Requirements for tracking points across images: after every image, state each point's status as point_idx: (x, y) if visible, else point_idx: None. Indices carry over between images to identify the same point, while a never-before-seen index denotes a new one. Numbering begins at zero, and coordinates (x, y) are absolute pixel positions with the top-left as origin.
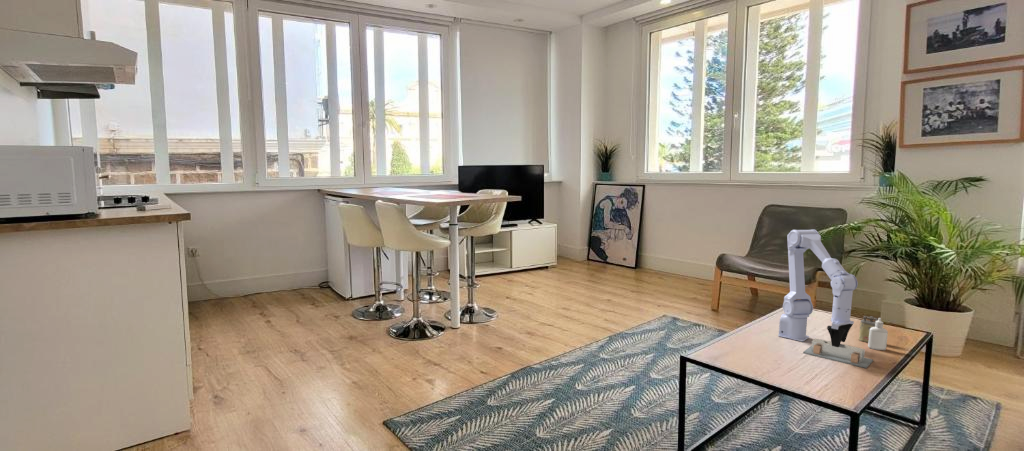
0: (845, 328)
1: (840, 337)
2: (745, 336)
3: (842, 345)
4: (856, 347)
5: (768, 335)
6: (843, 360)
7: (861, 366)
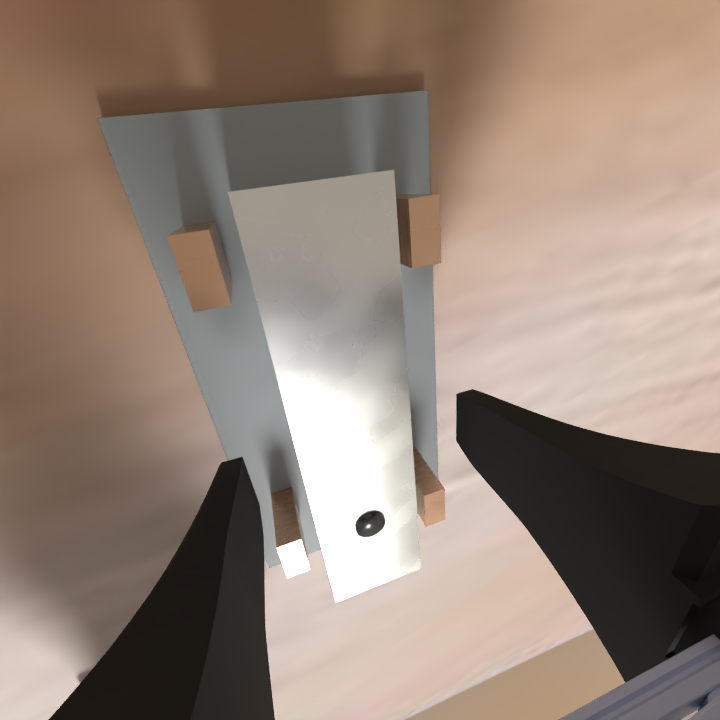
0: (236, 664)
1: (606, 439)
2: (405, 694)
3: (335, 416)
4: (262, 300)
5: (299, 705)
6: (408, 302)
7: (425, 141)
